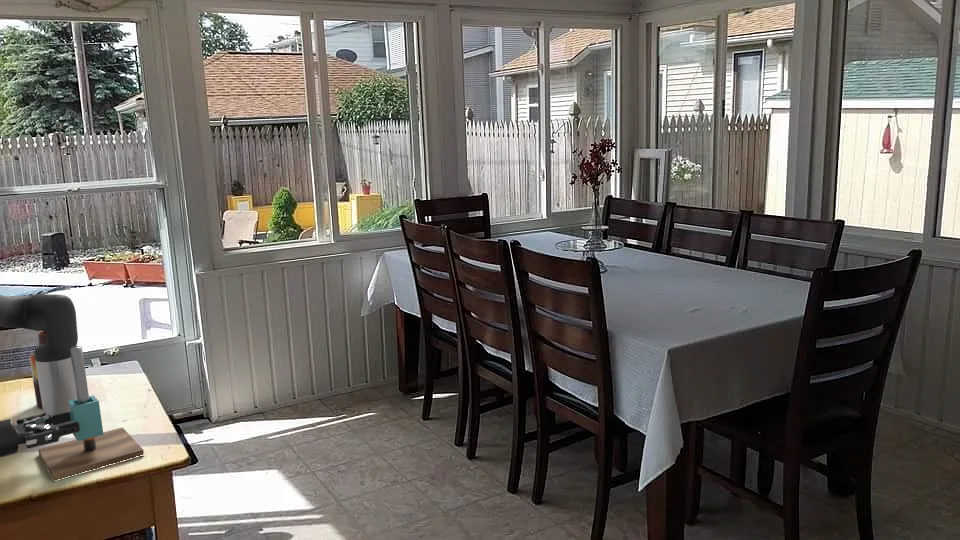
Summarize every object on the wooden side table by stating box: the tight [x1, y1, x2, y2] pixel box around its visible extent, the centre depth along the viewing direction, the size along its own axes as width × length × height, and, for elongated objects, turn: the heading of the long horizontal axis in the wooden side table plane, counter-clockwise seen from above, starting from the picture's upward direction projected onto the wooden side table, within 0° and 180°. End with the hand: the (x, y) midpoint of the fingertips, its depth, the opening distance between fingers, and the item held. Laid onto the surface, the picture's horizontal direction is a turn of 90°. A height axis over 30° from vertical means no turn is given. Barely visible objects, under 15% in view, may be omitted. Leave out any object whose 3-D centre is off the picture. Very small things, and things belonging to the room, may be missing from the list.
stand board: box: [38, 427, 145, 482], centre depth 167 cm, size 18×18×2 cm
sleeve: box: [68, 395, 104, 441], centre depth 165 cm, size 5×5×8 cm
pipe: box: [70, 345, 96, 452], centre depth 165 cm, size 3×3×24 cm
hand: (75, 420), depth 164 cm, fingers open, 8 cm apart
